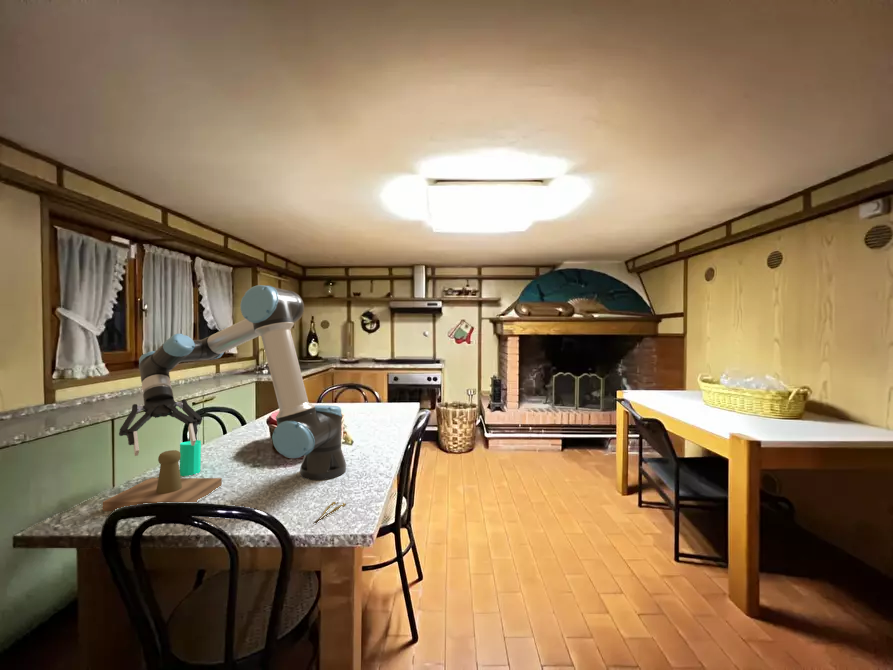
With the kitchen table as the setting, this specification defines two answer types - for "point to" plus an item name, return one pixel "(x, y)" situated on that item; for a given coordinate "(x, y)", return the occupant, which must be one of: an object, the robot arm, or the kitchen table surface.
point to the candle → (190, 458)
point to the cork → (169, 472)
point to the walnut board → (147, 494)
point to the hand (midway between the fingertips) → (166, 448)
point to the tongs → (329, 512)
